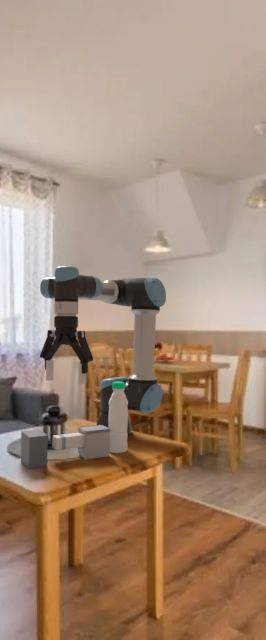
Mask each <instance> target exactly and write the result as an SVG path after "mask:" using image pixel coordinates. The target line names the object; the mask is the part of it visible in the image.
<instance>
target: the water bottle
mask: <svg viewBox="0 0 266 640" xmlns="http://www.w3.org/2000/svg"><path fill="white" fill-rule="evenodd" d="M112 388H113V393H112V395H111V398H110V400H109V416H108V425H109V429H110V454H111V453H112V454H123V453H126V452H127V451H128V434H127V426H128V417H129V412H128V411H129V410H128V407H127V406H128V400H127V398H126V395H125V393H124V390H125V383H124V382H113V383H112Z"/></svg>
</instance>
